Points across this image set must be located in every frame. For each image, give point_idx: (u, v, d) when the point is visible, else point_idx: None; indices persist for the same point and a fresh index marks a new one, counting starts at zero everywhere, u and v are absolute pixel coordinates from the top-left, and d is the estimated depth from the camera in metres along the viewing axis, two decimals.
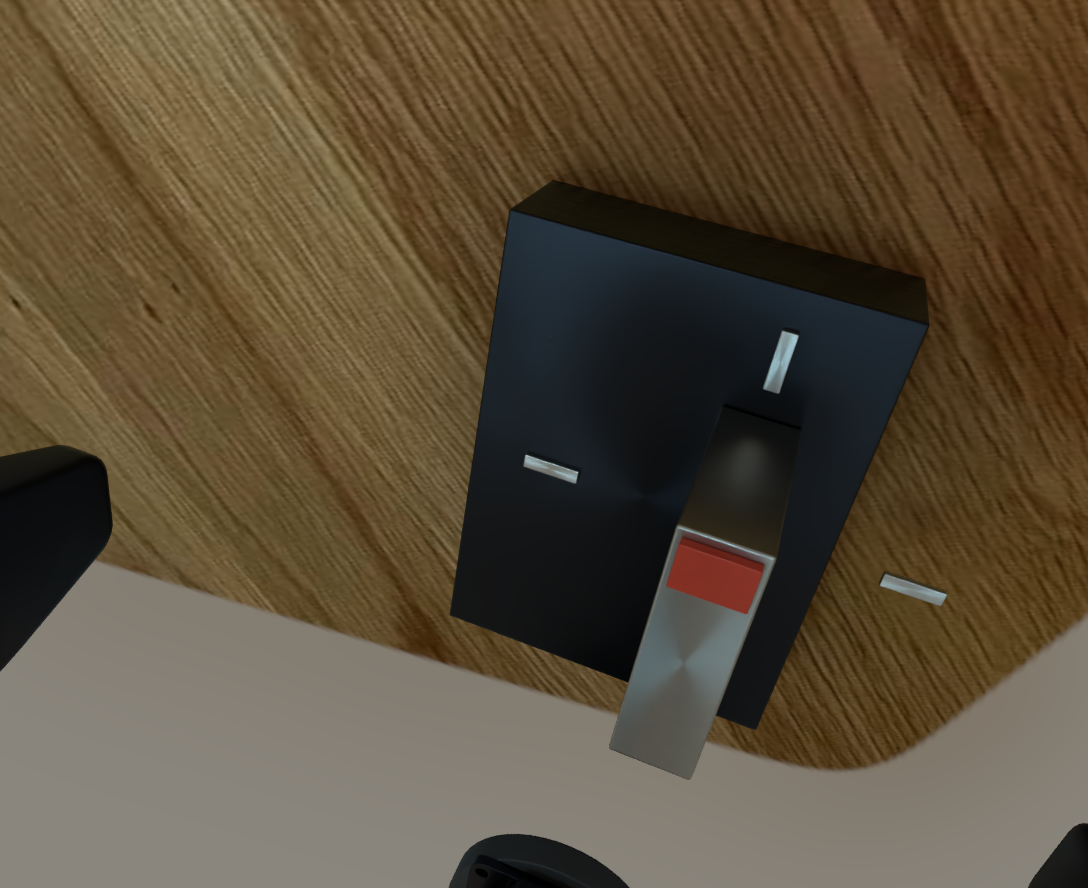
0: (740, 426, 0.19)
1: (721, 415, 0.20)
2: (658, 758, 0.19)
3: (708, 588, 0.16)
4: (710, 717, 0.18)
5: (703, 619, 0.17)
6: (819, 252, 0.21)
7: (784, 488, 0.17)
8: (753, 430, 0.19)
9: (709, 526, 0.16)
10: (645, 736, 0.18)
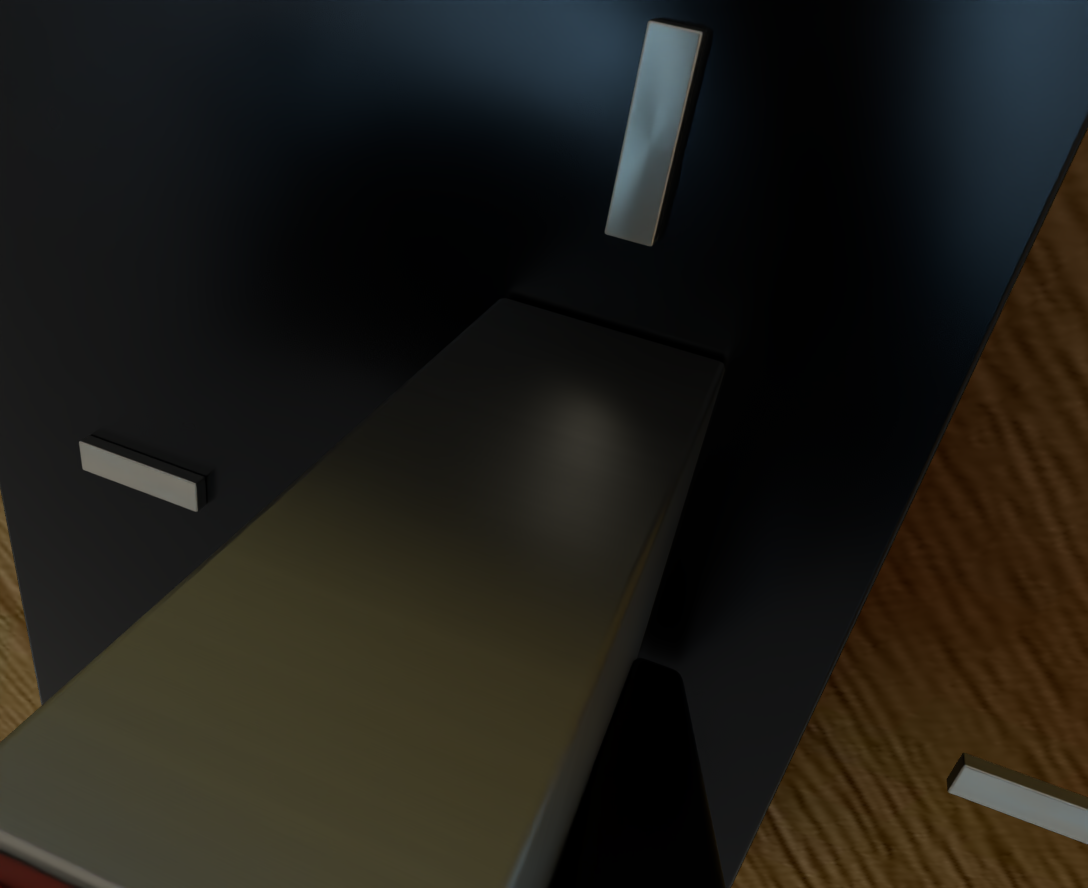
0: (535, 348, 0.06)
1: (485, 317, 0.07)
2: None
3: None
4: None
5: None
6: None
7: (621, 560, 0.04)
8: (572, 359, 0.06)
9: (129, 803, 0.03)
10: None
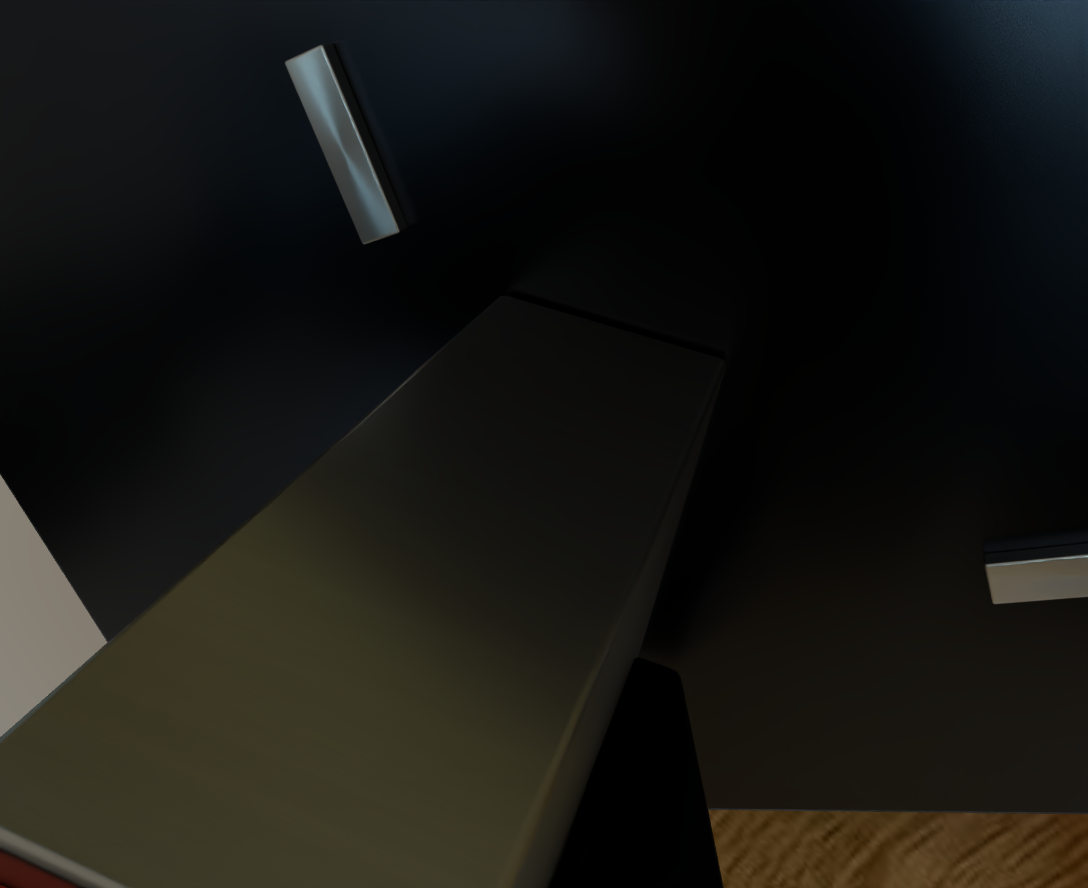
0: (535, 345, 0.06)
1: (485, 314, 0.07)
2: None
3: None
4: None
5: None
6: None
7: (622, 556, 0.04)
8: (572, 356, 0.06)
9: (127, 795, 0.03)
10: None
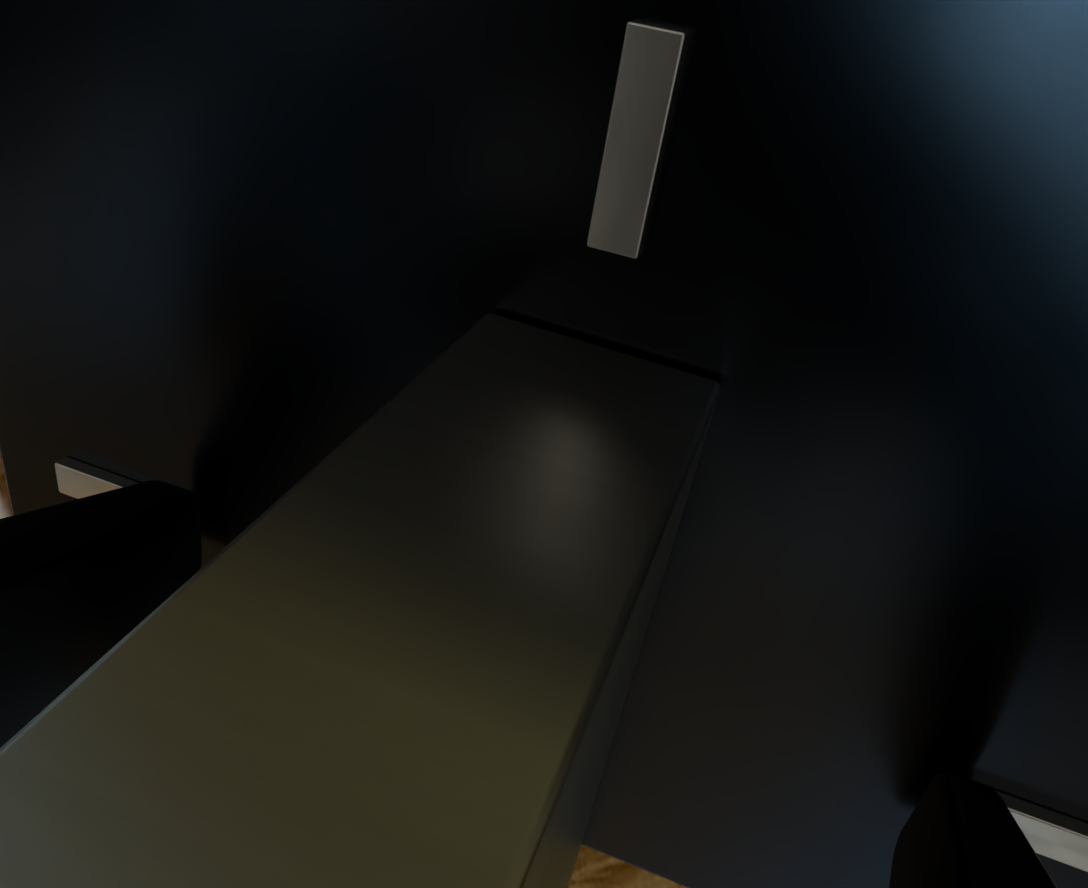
0: (519, 368, 0.06)
1: (469, 335, 0.06)
2: None
3: None
4: None
5: None
6: None
7: (607, 604, 0.04)
8: (560, 379, 0.06)
9: None
10: None
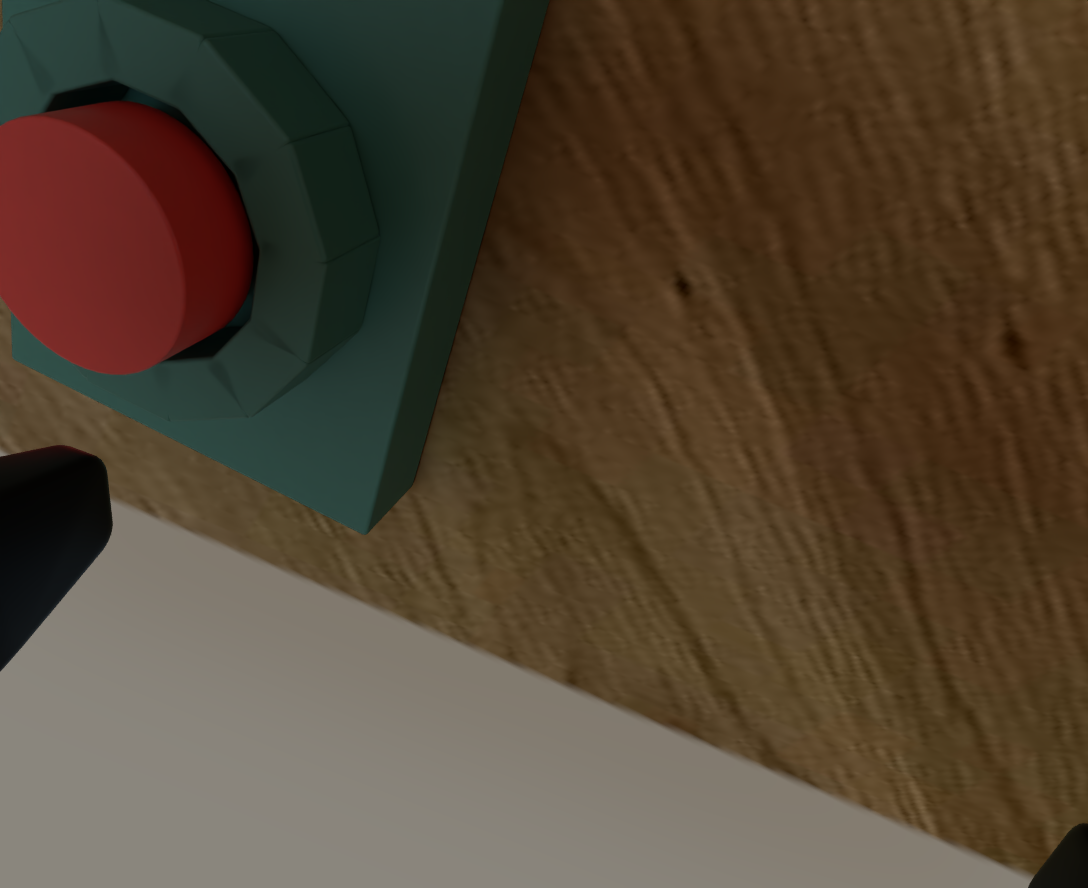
0: None
1: None
2: None
3: None
4: None
5: None
6: None
7: None
8: None
9: None
10: None
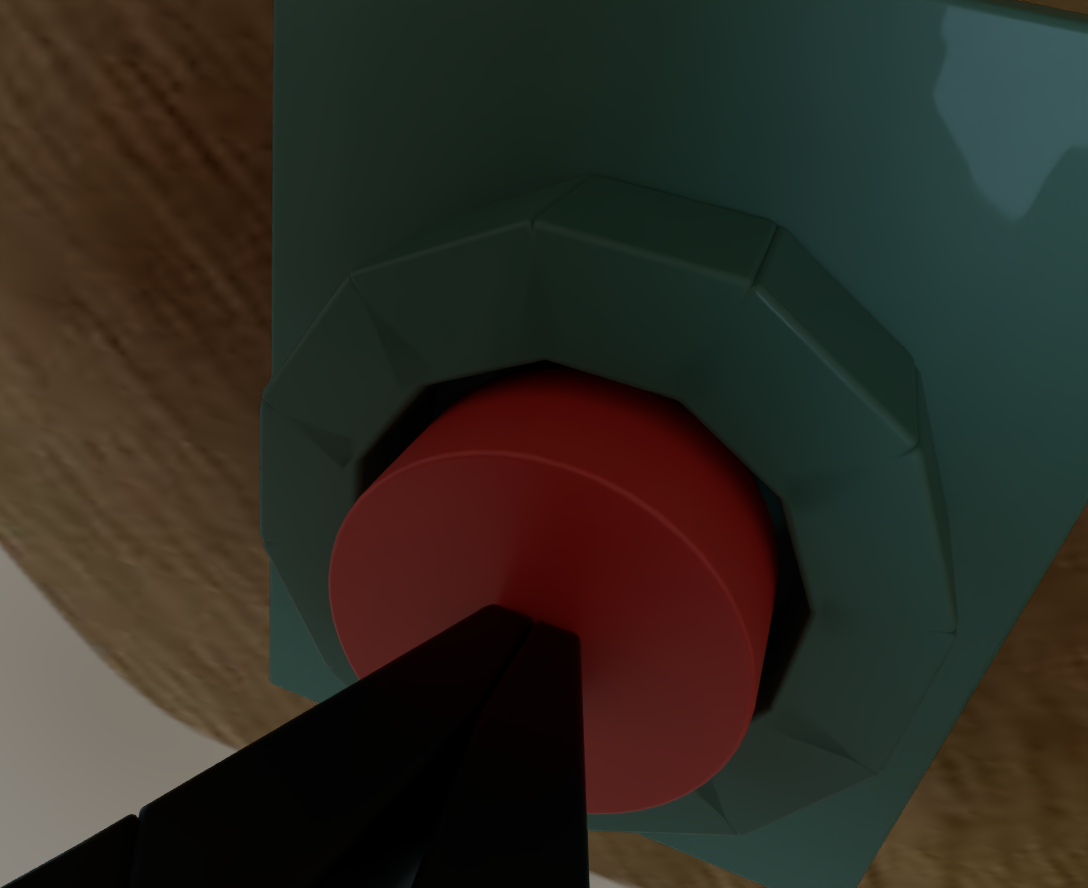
0: None
1: None
2: None
3: None
4: None
5: None
6: None
7: None
8: None
9: None
10: None
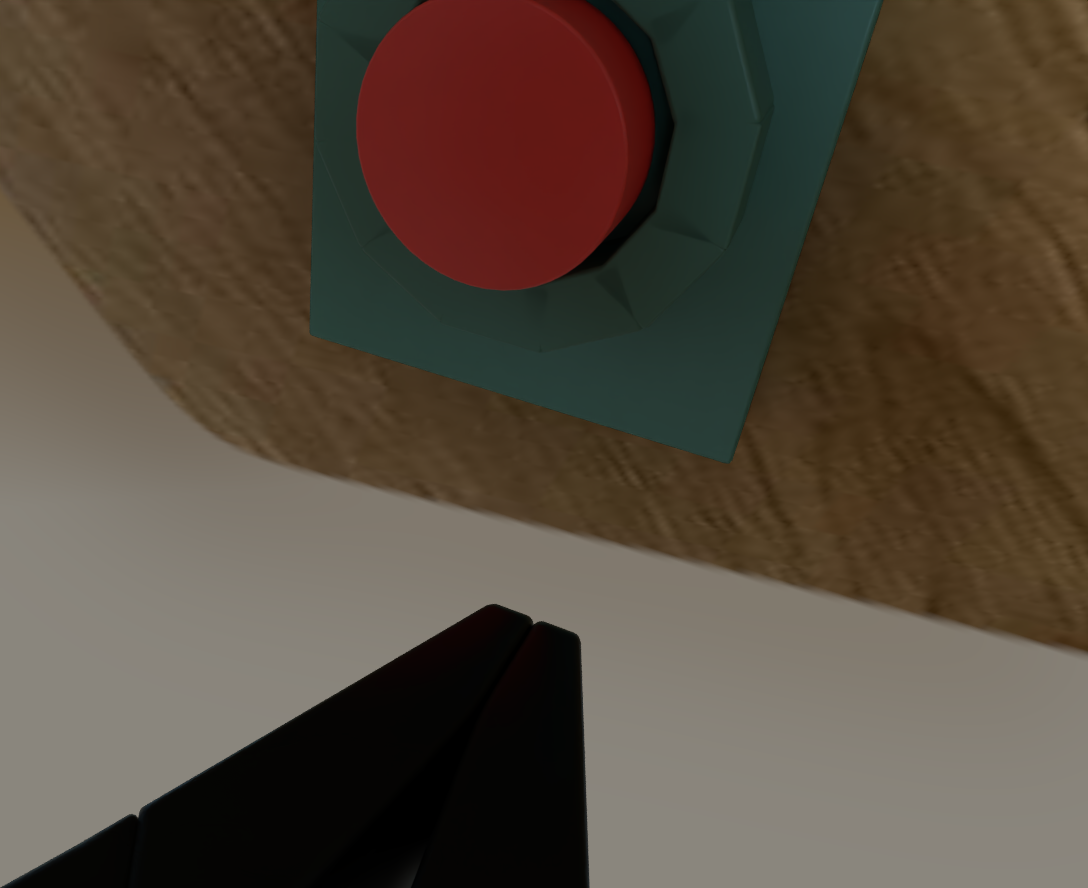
0: None
1: None
2: None
3: None
4: None
5: None
6: None
7: None
8: None
9: None
10: None
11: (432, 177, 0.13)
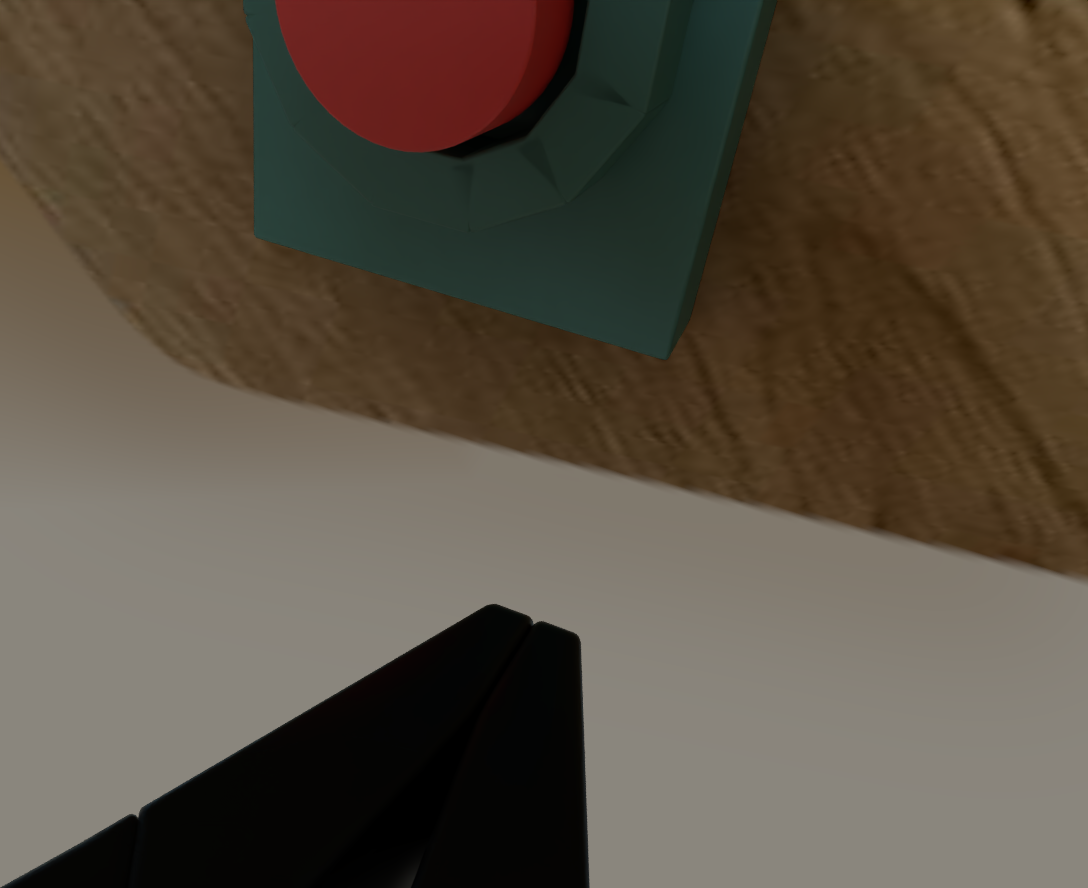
0: None
1: None
2: None
3: None
4: None
5: None
6: None
7: None
8: None
9: None
10: None
11: (348, 32, 0.13)
